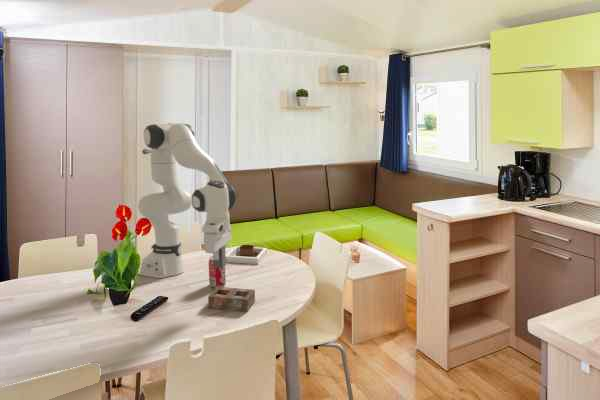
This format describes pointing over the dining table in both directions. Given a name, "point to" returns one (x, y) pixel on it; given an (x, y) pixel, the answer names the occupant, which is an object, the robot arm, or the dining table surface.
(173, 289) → the dining table surface
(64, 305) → the dining table surface
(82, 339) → the dining table surface
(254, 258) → the cup corral
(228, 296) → the socket block
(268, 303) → the dining table surface
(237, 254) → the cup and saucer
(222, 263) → the plug
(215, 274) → the soda can
